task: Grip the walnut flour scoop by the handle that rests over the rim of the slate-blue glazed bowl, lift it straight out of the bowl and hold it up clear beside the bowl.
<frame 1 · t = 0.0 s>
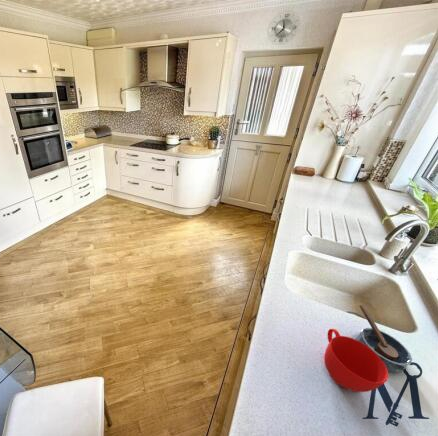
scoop: (382, 355, 75), point 1 cm above the worktop, touching bowl
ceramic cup: (336, 369, 71), on the worktop
bowl: (377, 353, 77), on the worktop
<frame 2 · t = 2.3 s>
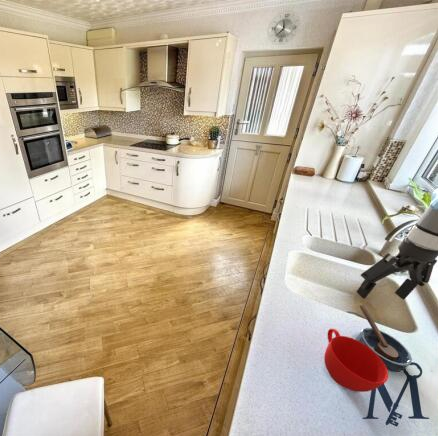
hand: (380, 295, 76), 17 cm above the worktop, tool pointing down, fingers open, 13 cm apart
nothing on the worktop moved.
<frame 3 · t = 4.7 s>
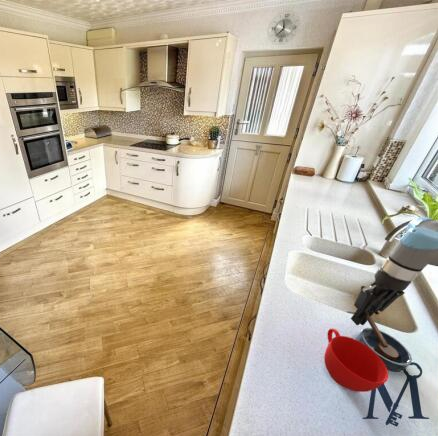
hand: (357, 321, 84), 2 cm above the worktop, tool pointing down, fingers closed on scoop
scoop: (382, 355, 75), point 1 cm above the worktop, touching gripper
everything else where it was.
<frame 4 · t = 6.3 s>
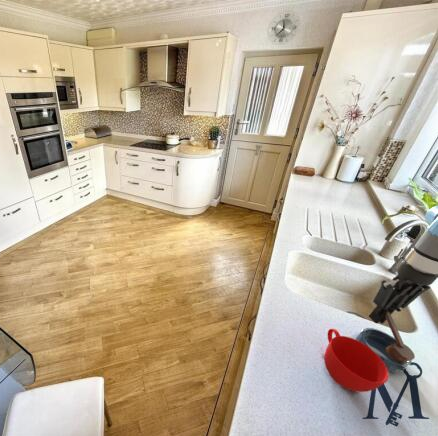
hand: (375, 319, 78), 9 cm above the worktop, tool pointing down, fingers closed on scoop
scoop: (395, 354, 72), point 5 cm above the worktop, tilted 12°, touching gripper
everything else where it was.
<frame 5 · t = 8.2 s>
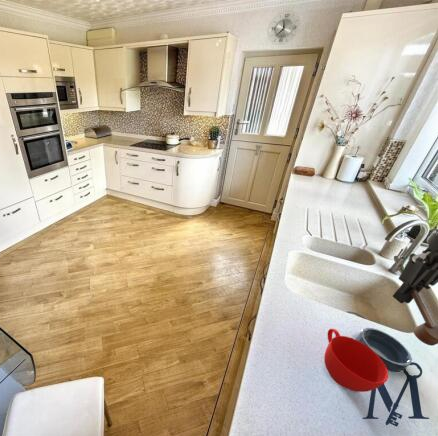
hand: (400, 299, 71), 20 cm above the worktop, tool pointing down, fingers closed on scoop
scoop: (423, 336, 65), point 16 cm above the worktop, tilted 12°, touching gripper
everything else where it was.
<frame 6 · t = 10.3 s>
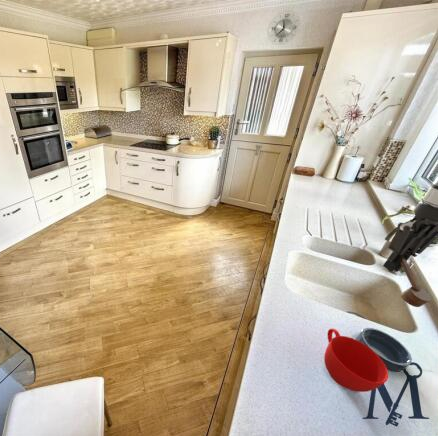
hand: (390, 268, 76), 24 cm above the worktop, tool pointing down, fingers closed on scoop
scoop: (410, 299, 71), point 20 cm above the worktop, tilted 13°, touching gripper
everything else where it was.
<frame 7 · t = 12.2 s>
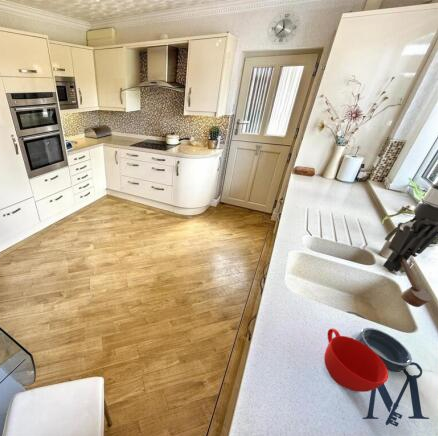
hand: (390, 268, 76), 24 cm above the worktop, tool pointing down, fingers closed on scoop
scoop: (410, 299, 71), point 20 cm above the worktop, tilted 13°, touching gripper
everything else where it was.
at the end: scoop point 20.3 cm above the worktop; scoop touching gripper; the gripper is holding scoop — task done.
